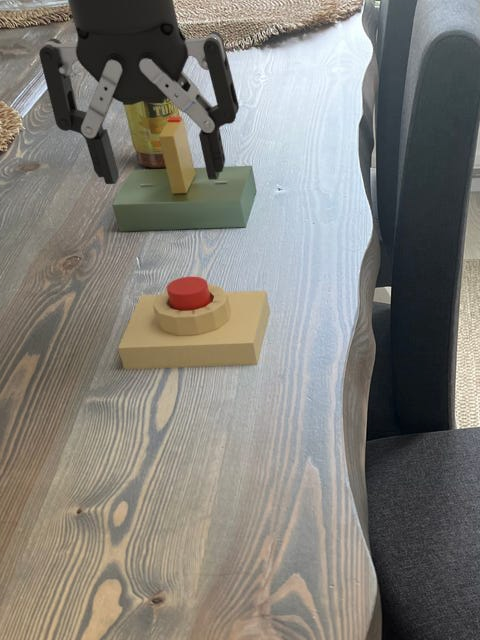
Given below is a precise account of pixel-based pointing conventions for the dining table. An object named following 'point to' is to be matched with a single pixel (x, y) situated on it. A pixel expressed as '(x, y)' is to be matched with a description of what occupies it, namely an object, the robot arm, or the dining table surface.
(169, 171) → the handle
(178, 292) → the button
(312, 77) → the dining table surface
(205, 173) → the plate
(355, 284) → the dining table surface
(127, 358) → the block
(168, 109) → the sauce bottle
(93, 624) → the dining table surface
